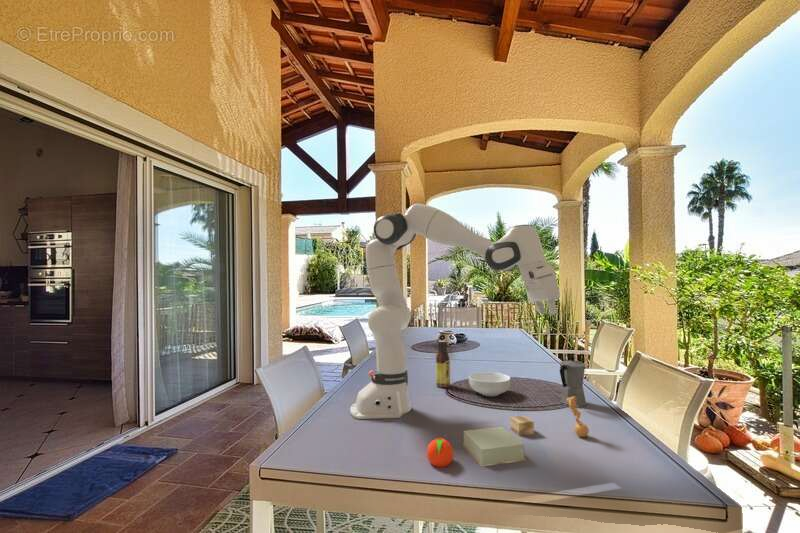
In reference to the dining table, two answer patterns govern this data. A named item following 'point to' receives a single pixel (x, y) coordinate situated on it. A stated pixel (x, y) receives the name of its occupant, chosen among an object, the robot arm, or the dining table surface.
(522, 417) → the oak cube
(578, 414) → the figurine
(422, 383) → the dining table surface
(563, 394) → the coffeepot
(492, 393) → the cereal bowl
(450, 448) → the clementine
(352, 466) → the dining table surface
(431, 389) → the dining table surface
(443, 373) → the sauce bottle
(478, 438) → the plinth block
